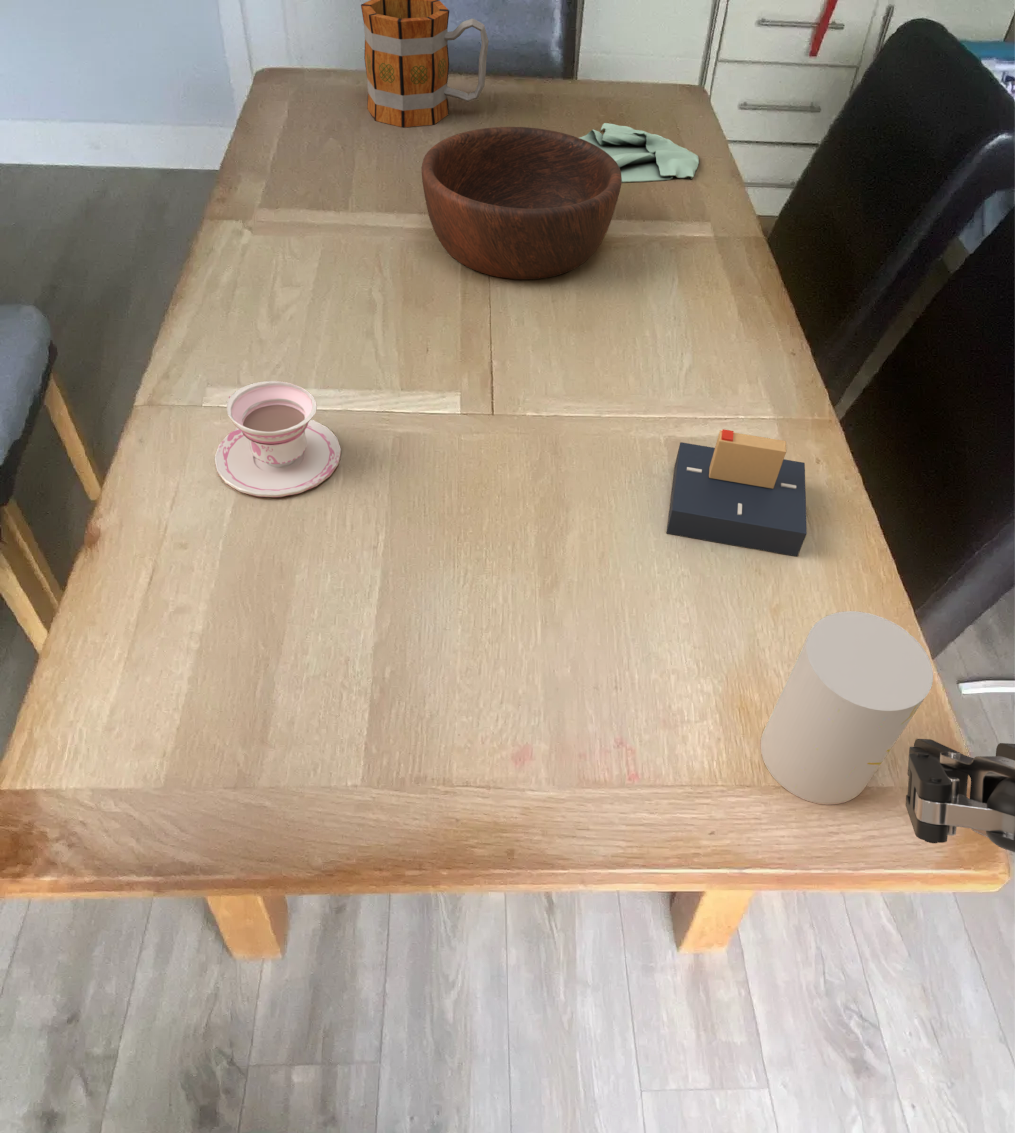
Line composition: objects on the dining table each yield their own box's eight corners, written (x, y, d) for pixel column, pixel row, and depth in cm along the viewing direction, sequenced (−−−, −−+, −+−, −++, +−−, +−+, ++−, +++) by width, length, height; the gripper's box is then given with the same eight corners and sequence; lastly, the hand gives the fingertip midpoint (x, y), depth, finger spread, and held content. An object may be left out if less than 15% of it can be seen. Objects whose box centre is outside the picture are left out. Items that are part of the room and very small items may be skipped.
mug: (360, 124, 144) (353, 18, 133) (373, 93, 153) (367, -9, 142) (484, 132, 144) (486, 27, 133) (488, 100, 153) (491, -1, 142)
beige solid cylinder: (876, 813, 65) (942, 720, 56) (762, 794, 66) (810, 699, 57) (863, 718, 70) (922, 620, 62) (758, 702, 71) (802, 603, 62)
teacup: (364, 443, 90) (360, 392, 86) (293, 515, 83) (284, 464, 78) (266, 406, 94) (256, 355, 89) (189, 473, 86) (174, 421, 82)
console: (795, 478, 90) (805, 454, 87) (797, 557, 82) (807, 532, 80) (675, 458, 91) (681, 433, 89) (666, 533, 84) (672, 508, 81)
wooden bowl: (633, 223, 125) (645, 148, 118) (577, 311, 109) (586, 230, 101) (467, 186, 131) (469, 111, 123) (390, 264, 114) (386, 184, 107)
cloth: (710, 184, 135) (714, 168, 133) (565, 182, 133) (567, 165, 131) (683, 129, 149) (686, 114, 147) (551, 126, 147) (553, 110, 145)
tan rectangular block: (773, 478, 85) (787, 438, 81) (773, 489, 84) (787, 449, 80) (709, 467, 86) (720, 427, 82) (708, 478, 84) (719, 438, 81)
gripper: (1444, 787, 30) (1099, 695, 47) (1022, 766, 30) (829, 681, 47) (1424, 1009, 30) (1088, 837, 47) (1005, 989, 30) (820, 824, 47)
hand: (960, 760), depth 47 cm, fingers open, 3 cm apart
